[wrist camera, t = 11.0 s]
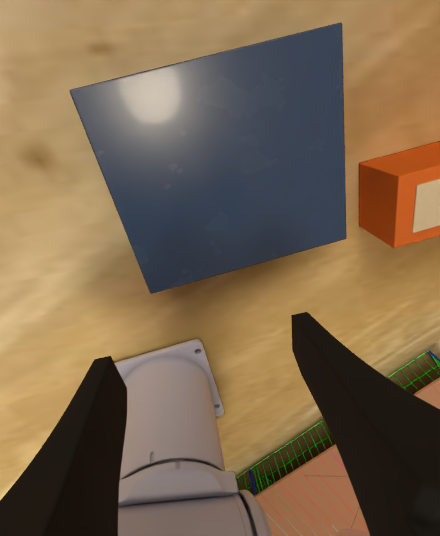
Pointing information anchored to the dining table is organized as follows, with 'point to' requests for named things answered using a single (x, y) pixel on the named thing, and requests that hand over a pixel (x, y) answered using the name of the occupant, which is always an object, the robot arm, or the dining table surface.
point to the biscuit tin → (225, 155)
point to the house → (321, 487)
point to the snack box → (401, 195)
